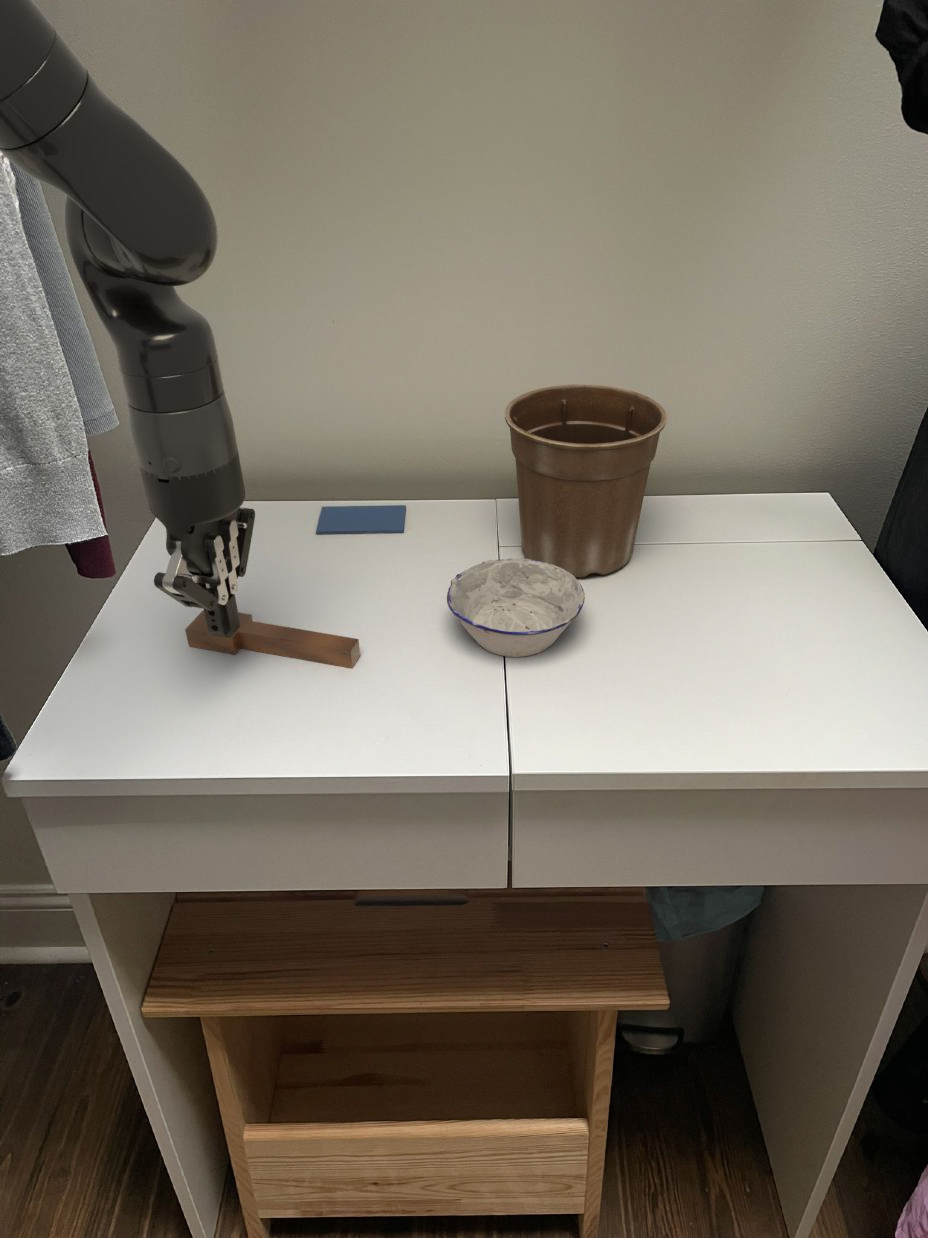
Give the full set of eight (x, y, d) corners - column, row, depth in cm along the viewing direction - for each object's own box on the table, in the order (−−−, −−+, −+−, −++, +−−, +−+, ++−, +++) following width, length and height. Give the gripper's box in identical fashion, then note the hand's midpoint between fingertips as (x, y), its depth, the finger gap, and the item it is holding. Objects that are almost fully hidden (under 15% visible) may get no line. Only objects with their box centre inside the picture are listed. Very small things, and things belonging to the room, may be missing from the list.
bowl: (444, 672, 87) (442, 629, 84) (452, 595, 97) (451, 555, 94) (586, 674, 86) (589, 631, 83) (578, 597, 96) (581, 556, 94)
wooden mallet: (364, 649, 90) (362, 632, 88) (348, 675, 86) (346, 657, 85) (209, 623, 94) (205, 606, 93) (188, 646, 91) (184, 629, 89)
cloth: (405, 507, 113) (405, 504, 113) (403, 532, 108) (403, 529, 108) (322, 509, 113) (321, 506, 113) (316, 534, 108) (315, 531, 108)
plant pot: (533, 504, 113) (537, 373, 104) (667, 529, 107) (683, 393, 98) (480, 571, 101) (479, 429, 92) (628, 603, 95) (642, 456, 86)
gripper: (188, 412, 79) (223, 586, 89) (94, 483, 68) (146, 671, 79) (270, 421, 77) (296, 597, 87) (186, 495, 67) (227, 686, 77)
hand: (225, 632), depth 83 cm, fingers closed
